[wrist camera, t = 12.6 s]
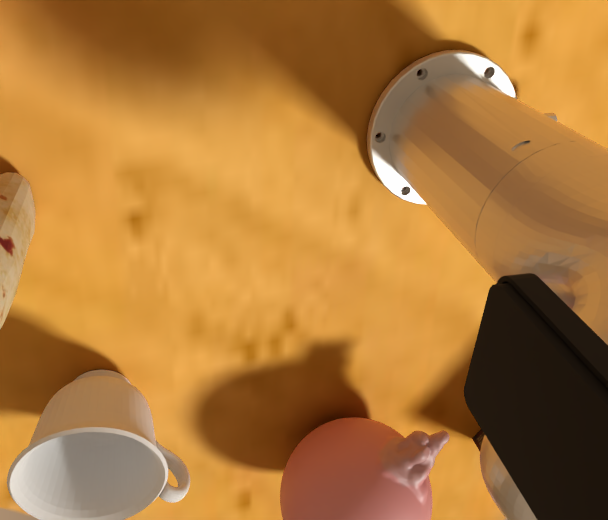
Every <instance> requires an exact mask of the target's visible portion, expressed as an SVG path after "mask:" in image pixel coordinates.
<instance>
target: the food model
mask: <svg viewBox="0 0 608 520" xmlns="http://www.w3.org/2000/svg"><path fill="white" fill-rule="evenodd" d="M34 229H35V206H34V201H33V196H32V192H31V188H30V185H29V182H28V181H27V180H26V179H25V178H24V177H23V176H21V175H19V174H18V173H10V172H6V173H3V174H0V329H1V327H2V326H3V324H4V322H5V319H6V317H7V314H8V312H9V309H10V307H11V305H12V302H13V300H14V297H15V295H16V292H17V288H18V284H19V280H20V276H21V272H22V268H23V264H24V261H25V257H26V254H27V250H28V247H29V245H30V242H31V240H32V237H33V234H34Z"/></svg>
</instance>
